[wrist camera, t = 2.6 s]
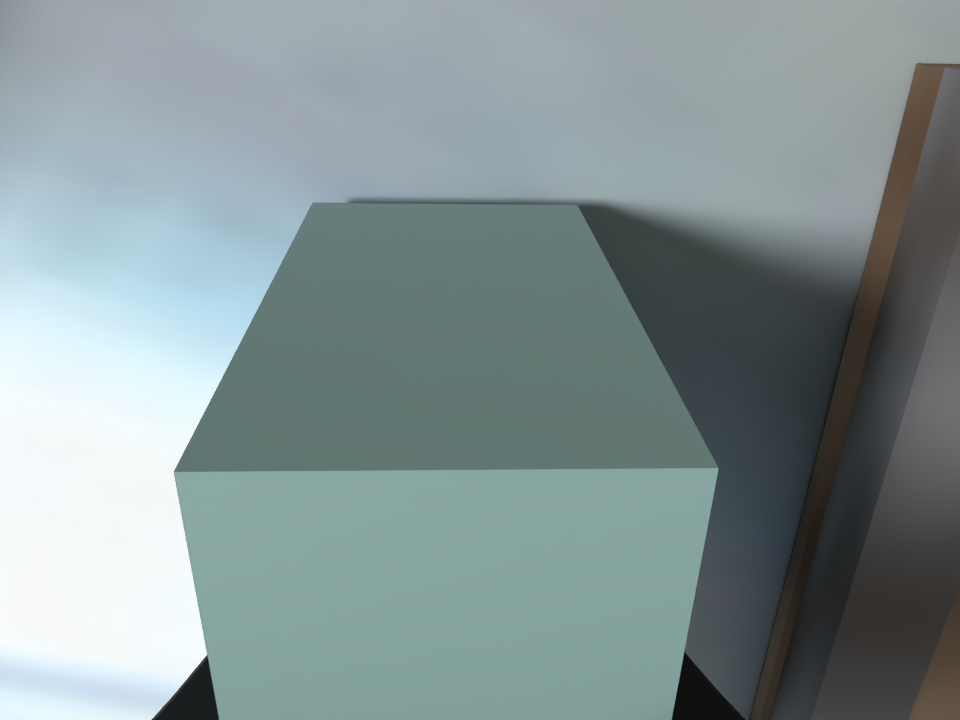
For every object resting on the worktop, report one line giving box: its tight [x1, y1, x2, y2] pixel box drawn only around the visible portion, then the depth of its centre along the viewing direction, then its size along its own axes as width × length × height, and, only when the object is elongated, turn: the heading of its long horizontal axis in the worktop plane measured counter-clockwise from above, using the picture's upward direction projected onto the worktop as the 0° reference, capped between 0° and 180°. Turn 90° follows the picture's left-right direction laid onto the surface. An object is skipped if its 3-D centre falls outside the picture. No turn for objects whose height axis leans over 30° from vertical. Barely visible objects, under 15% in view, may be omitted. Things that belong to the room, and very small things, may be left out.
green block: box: [174, 203, 719, 720], centre depth 12 cm, size 12×4×7 cm, turn 179°
